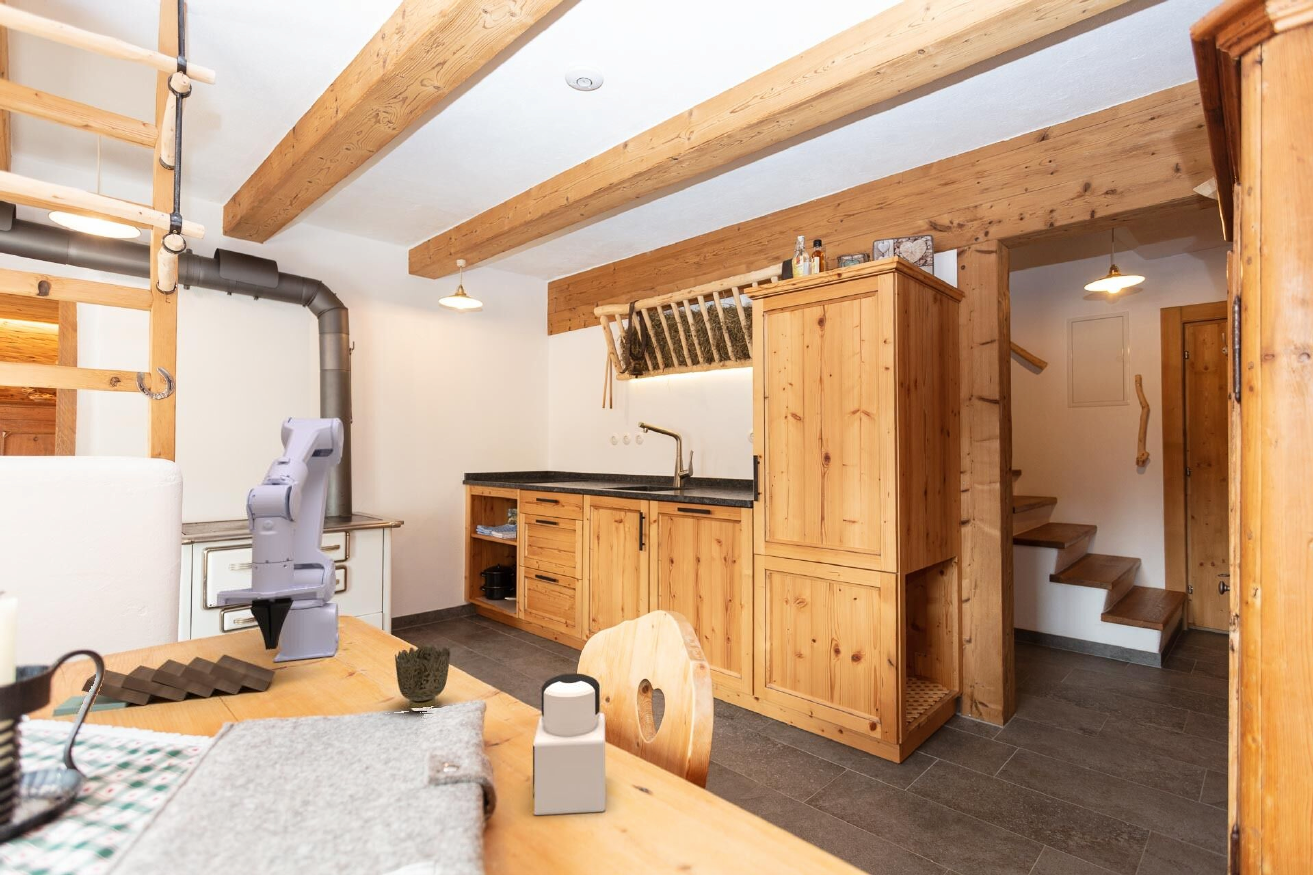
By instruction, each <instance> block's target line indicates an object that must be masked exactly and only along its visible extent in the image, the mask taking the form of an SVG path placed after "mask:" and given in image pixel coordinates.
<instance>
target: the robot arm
mask: <svg viewBox="0 0 1313 875" xmlns="http://www.w3.org/2000/svg"><path fill="white" fill-rule="evenodd" d="M344 434H345V433H344V425H343V421H342V420H341V419H340V418H339V417H334V418H309V417H308V418H302V417H301V418H297V417H296V418H295V417H290V416H289V417H287V418H285V420H284V421H283V422H282V425H281V429H280V438H281V443H282V446H283V448H284V451H283V452H284V453H283V455H282V456H281V457H278V458H276V459H274V461H273V462H272V463H271V465H270V467H269V469H268V470H267V473H266V475H265V476H264V478H263V480H262V482H261V484H258V485H256V486H255V487H254V488H251V489H250V490H249V491H248V493H247V497H246V504H245V507H246V509H245V510H246V515H247V518H248V530H249V533H251V537H252V539H251V545H252V546H251V587H249V588H242V589H240V588H239V589H233V590H220V591H219V592H217V593H216V606H217V607H223V606H226V605H240V604H251V607H250V608H249V609H250V612H251V614H252V616H253V617H254V619H255V621H256V623H257V625H258V626H259V629H260V632H261V634H262V638H263V642H264V647H265V650H266V651H267V650H276V649H277V648H278V646H280V647H279V651H278V653H277V654H276V656H275V657H274V659H273V662H275V663H276V662H286V661H294V660H295V661H296V660H304V659H305V660H306V659H312V658H313V659H315V658H324V657H332V656H334V655H335V654H336V651H337V648H338V646H339V643H340V633H339V604H338V602H330V601H332V599H333V598H334V596H335V594H336V593H335V592H336V587H337V586H336V585H337V576H336V575H337V574H336V563H335V561H334V559H333V558H332V557H331V556H330V555H328V554H326V552H323V551H322V543H323V535H324V524H325V516H326V515H325V514H326V507H327V498H328V497H327V495H328V488H329V487H328V486H329V479H330V474H331V471H332V468H333V467H335V466H337V465H339V464H341V460H342V457H343V448H344V440H345V439H344V438H345V436H344ZM279 643H280V644H279Z"/></svg>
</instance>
